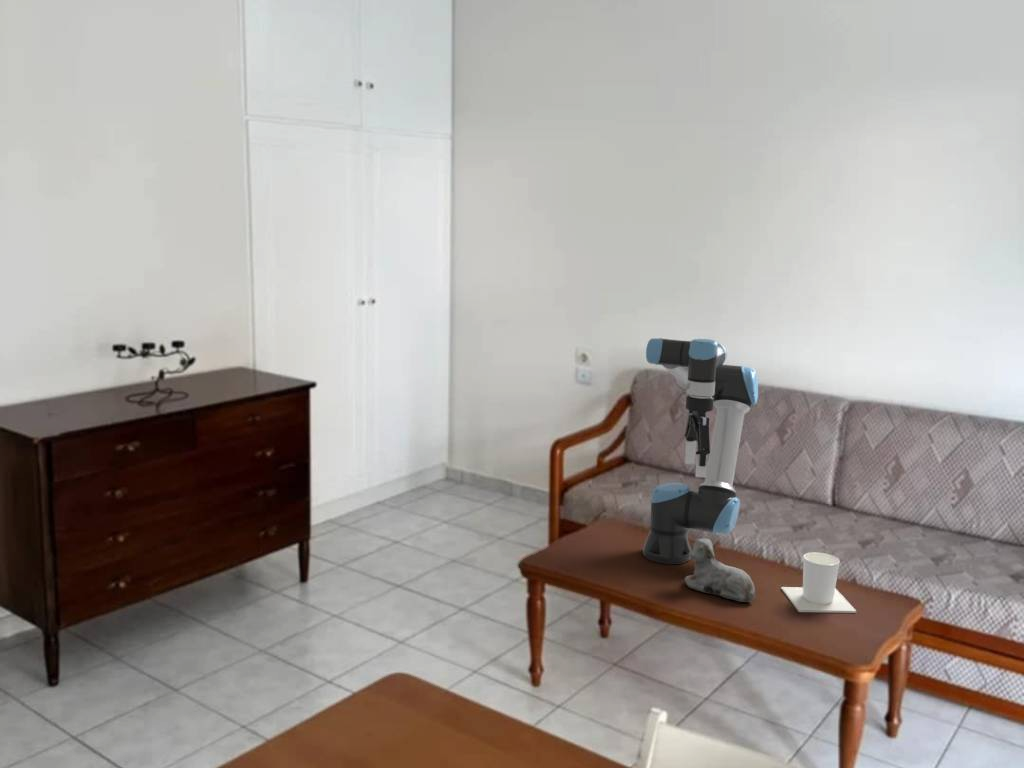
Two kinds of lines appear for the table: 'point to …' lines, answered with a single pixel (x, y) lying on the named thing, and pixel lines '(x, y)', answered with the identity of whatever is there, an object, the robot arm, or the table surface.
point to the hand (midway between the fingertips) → (695, 470)
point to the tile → (803, 605)
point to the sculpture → (718, 575)
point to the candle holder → (819, 577)
